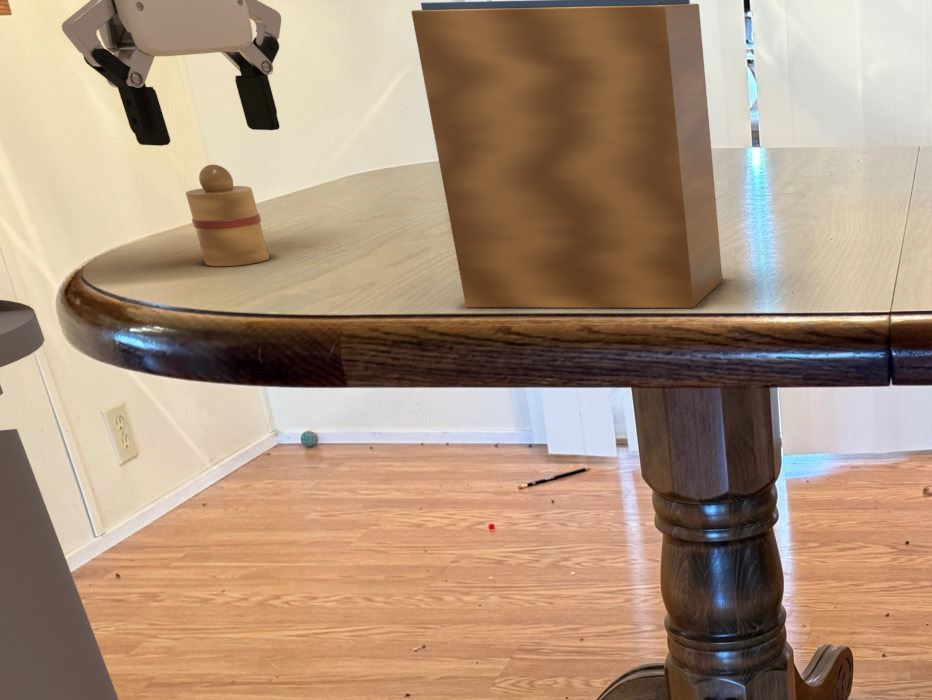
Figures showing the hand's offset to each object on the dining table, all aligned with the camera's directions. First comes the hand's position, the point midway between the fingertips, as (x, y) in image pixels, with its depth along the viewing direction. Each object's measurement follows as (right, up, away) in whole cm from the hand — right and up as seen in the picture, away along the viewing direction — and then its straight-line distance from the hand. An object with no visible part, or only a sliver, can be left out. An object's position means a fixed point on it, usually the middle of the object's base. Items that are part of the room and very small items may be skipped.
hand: (211, 136), depth 98 cm
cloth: (+33, 0, -19) cm, 38 cm away
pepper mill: (0, -8, +4) cm, 9 cm away
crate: (+33, -16, -10) cm, 38 cm away
